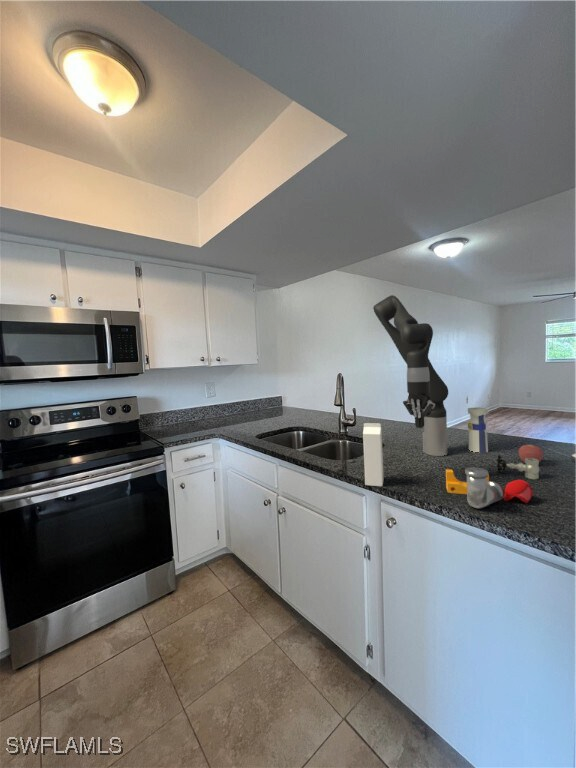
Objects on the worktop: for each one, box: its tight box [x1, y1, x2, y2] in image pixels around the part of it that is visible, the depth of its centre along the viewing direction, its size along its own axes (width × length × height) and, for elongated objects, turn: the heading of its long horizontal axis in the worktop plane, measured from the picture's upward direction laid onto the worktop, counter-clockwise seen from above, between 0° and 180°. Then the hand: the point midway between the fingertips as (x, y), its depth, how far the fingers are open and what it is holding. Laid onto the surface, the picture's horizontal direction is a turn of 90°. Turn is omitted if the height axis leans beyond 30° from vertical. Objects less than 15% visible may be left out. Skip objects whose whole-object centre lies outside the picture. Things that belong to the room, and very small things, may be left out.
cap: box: [503, 479, 534, 504], centre depth 94 cm, size 8×6×6 cm
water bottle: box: [466, 396, 489, 454], centre depth 141 cm, size 8×9×25 cm
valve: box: [496, 454, 540, 480], centre depth 112 cm, size 7×7×12 cm
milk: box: [362, 422, 384, 487], centre depth 113 cm, size 6×6×22 cm
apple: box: [518, 444, 544, 463], centre depth 123 cm, size 7×7×8 cm
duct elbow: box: [464, 466, 505, 510], centre depth 92 cm, size 11×6×11 cm, turn 118°
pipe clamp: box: [445, 469, 490, 495], centre depth 102 cm, size 12×4×6 cm, turn 69°
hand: (419, 427), depth 113 cm, fingers closed
